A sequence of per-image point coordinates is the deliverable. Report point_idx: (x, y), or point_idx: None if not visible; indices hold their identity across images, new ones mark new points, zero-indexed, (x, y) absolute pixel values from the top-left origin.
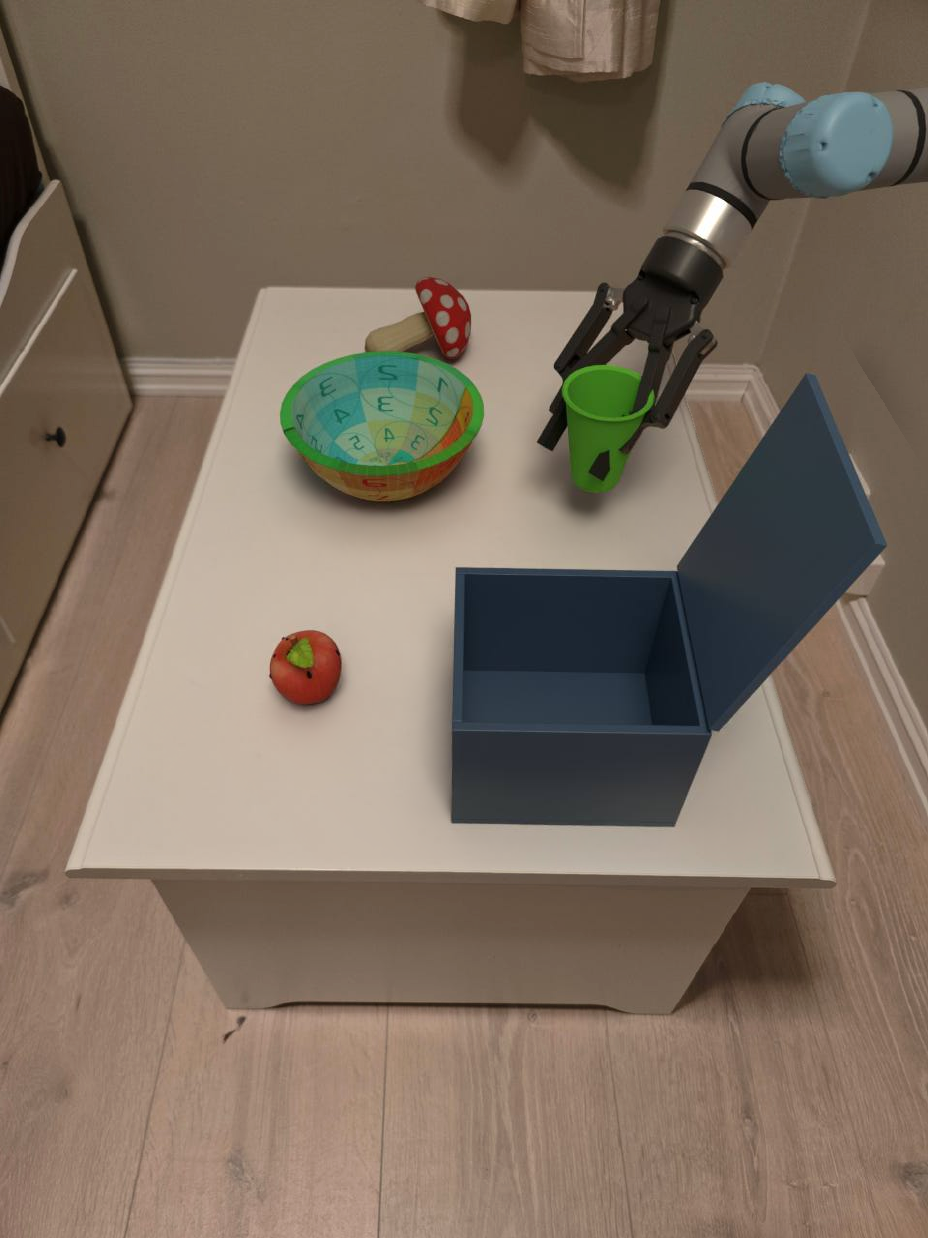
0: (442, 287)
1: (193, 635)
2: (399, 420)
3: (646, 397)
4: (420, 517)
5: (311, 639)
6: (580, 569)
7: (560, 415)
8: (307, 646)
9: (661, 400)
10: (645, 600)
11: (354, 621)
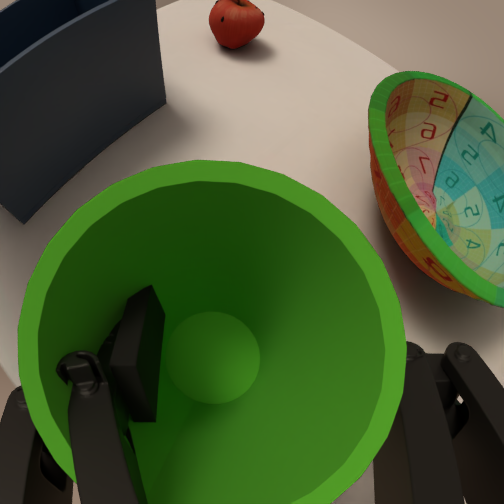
0: None
1: (326, 38)
2: (484, 258)
3: (77, 444)
4: (358, 200)
5: (240, 7)
6: (30, 50)
7: None
8: None
9: (19, 447)
10: None
11: (271, 84)
